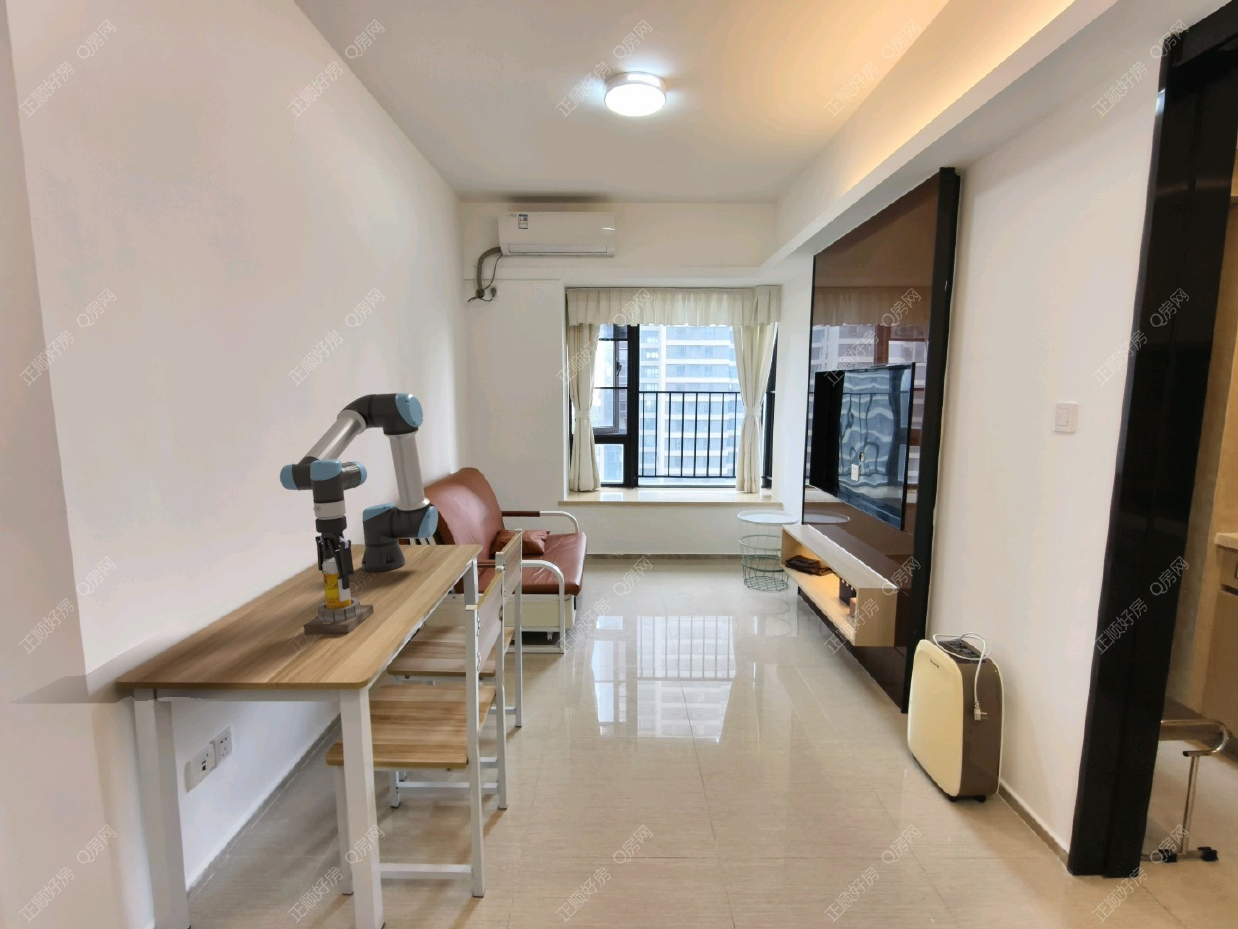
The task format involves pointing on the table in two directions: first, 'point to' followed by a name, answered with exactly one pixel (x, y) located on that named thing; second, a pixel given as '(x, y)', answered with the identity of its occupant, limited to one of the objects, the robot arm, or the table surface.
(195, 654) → the table surface
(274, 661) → the table surface
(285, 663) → the table surface
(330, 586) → the beer can
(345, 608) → the cup holder
